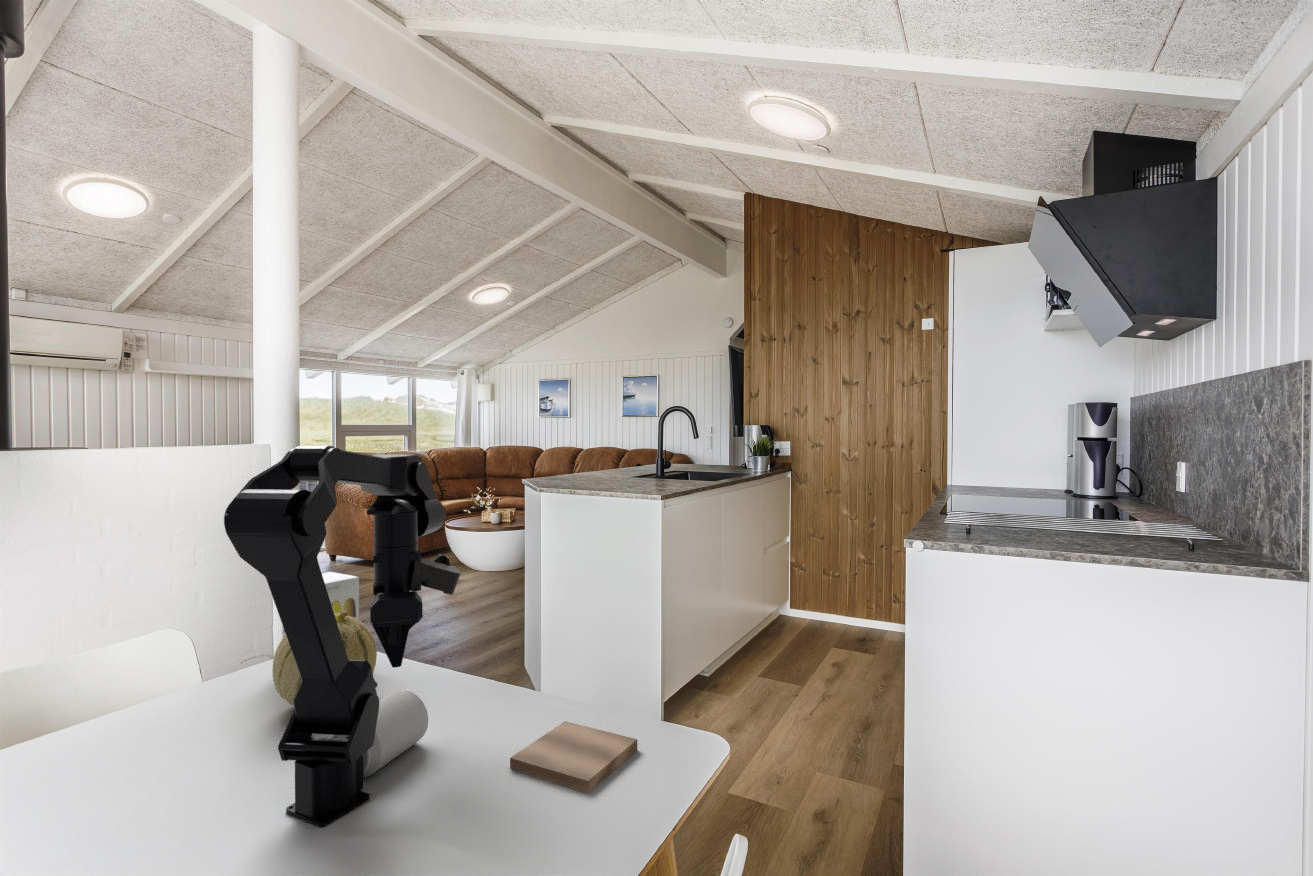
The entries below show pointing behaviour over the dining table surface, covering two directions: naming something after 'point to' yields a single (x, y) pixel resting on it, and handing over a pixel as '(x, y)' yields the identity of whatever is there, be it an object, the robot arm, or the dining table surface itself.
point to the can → (394, 729)
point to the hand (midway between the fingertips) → (396, 655)
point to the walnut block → (574, 756)
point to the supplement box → (342, 593)
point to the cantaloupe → (355, 643)
